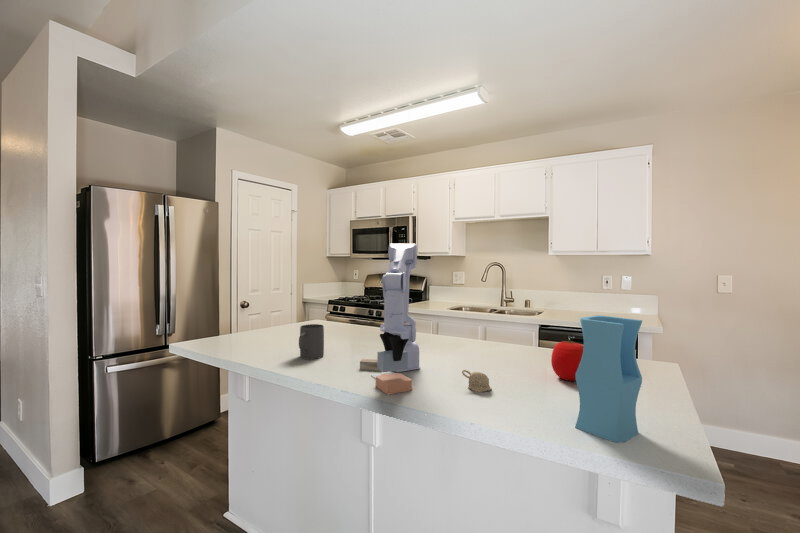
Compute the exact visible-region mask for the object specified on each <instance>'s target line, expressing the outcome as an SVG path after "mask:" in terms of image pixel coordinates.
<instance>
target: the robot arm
mask: <svg viewBox="0 0 800 533" xmlns="http://www.w3.org/2000/svg"><path fill="white" fill-rule="evenodd" d="M388 260H389V264H388V267H387V271H386V273H385V274H383V275H382V277H381V278H382V279H381V286H382V296H383V298H384V300H383V301H384V302H383V303H384V304H383V310H384V311H383V312H384V313H383V314H384V315H383V316H384V317H383V322H384V323H383V324H380V325H379V326H380V328H379V330H380V332H382V333H380V334H379V338H380V339H381V342H382V345H383V347H384V351H390V350H392V353H393V360H394V361H401V358H402V354H403V350H404V351H407V352H408V369H403V370H396V371H395V373H401V372H408V371H413V370H420V369H421V366H420V347H419V345H418V343H417V342H416V340H417V324H416V320H415V318H413V317H412V316H411V315H409V306H410V300H409V299H410V276H411V272H412V270H413V269H416V268H417V267H416V266H417V264H418V263H417V261H418V245H417V244H416V243H414V242H413V243H389V245H388Z"/></svg>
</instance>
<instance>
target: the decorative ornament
mask: <svg viewBox="0 0 800 533" xmlns="http://www.w3.org/2000/svg"><path fill="white" fill-rule="evenodd" d="M465 373H467V374H468V375H469V376H468V375H467V374H465ZM461 374H462V376H464V377H465V378H467V379H468V386H467V387H468V388H469V390H471V391H474V392H475V393H476V392H478V393H482V392H483V393H484V392H487V391H490V390H492V387H491V386H490V380H489V377H488V375H487V374H485V373H484V372H480V371H474V372H470V371H468V370H466V369H463V370H461Z"/></svg>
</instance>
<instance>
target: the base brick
mask: <svg viewBox="0 0 800 533" xmlns="http://www.w3.org/2000/svg"><path fill="white" fill-rule="evenodd" d="M375 387H376V388H377V389H379V390H380V391H382V392H383V393H385V394H386V395H392V394H398V393H403V392H409V391H412V390H413V379H411V378H410V377H408V376H405V375H404V374H402V373H401V372H394V374H388V375H382V376H376V379H375Z"/></svg>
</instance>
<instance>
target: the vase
mask: <svg viewBox="0 0 800 533" xmlns="http://www.w3.org/2000/svg"><path fill="white" fill-rule="evenodd" d="M579 322H580V326H581V332H582V336H583V337H582V338H583V346H584V349H583V355H582V358H581V361H580V364H579V367H578V369H577V372H576V380H575V382H576V386H577V391H578V397H579V411H578V416H577V420H576V423H575V426H574V428H575V429H577V430H580V431H582V432H586V433H589V434H590V435H594V436H596V437H599V438H602V439H605V440H607V441H609V442H613V443H619V444H622V443H626V442H627V441H629V440H631V439H632V438H634V437H636V436H637V435H639V429H638V424H637V416H636V413H637V412H636V411H637V410H636V408H637V407H636V406H637V401H638V396H639V393H640V391H641V388H642V384H643V377H642V374H641V371H640V368H639V365H638V362H637V357H636V342H637V339H638V335H639V332H640V329H641V326H642V323H643V320H642V319H634V318H625V317H619V316H618V317H617V316H610V315H591V316H585V317H580V318H579Z"/></svg>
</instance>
